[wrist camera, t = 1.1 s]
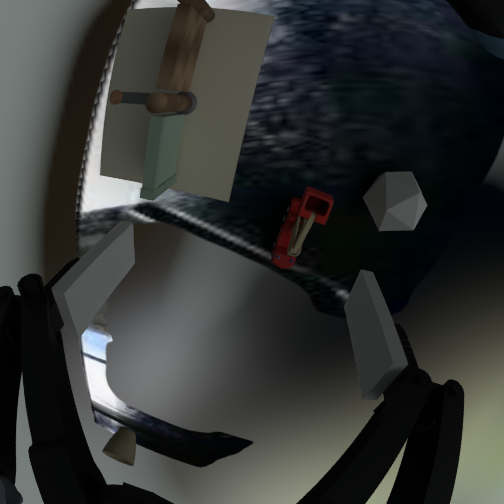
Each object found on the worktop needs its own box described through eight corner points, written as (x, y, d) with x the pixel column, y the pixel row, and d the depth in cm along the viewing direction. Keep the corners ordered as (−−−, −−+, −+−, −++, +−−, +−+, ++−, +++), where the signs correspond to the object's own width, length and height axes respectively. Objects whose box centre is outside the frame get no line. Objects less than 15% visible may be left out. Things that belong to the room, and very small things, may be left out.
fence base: (200, 9, 26) (176, -16, 17) (217, 10, 26) (197, -17, 17) (175, 109, 34) (143, 112, 25) (191, 112, 34) (163, 114, 25)
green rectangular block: (175, 112, 33) (149, 115, 26) (187, 114, 33) (163, 117, 26) (165, 179, 38) (140, 197, 31) (176, 181, 38) (153, 200, 31)
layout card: (129, 10, 25) (128, 10, 25) (274, 17, 26) (274, 16, 26) (101, 174, 39) (100, 175, 39) (228, 201, 40) (228, 202, 40)
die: (346, 196, 38) (376, 252, 34) (368, 153, 31) (408, 212, 27) (387, 192, 40) (415, 242, 36) (410, 154, 33) (448, 207, 28)
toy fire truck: (269, 253, 44) (266, 290, 35) (301, 171, 37) (307, 191, 28) (289, 259, 44) (291, 297, 35) (323, 179, 37) (336, 201, 29)
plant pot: (111, 419, 91) (99, 448, 77) (142, 432, 92) (132, 462, 78) (114, 429, 98) (104, 455, 84) (143, 441, 99) (134, 468, 85)
